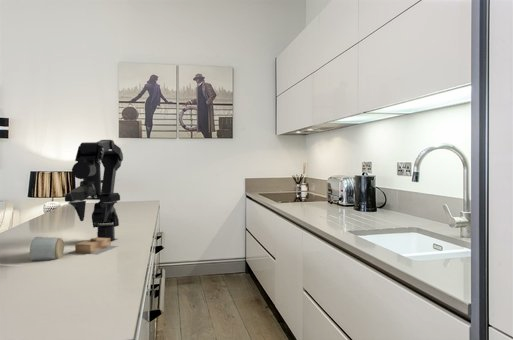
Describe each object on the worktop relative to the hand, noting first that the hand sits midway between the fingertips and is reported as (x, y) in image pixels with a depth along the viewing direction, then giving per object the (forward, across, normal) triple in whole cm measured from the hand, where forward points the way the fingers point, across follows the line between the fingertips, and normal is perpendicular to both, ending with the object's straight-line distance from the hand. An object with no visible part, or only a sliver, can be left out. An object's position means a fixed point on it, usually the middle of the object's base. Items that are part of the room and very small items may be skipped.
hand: (93, 221), depth 126 cm
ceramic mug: (+11, -8, -12) cm, 18 cm away
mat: (+11, 0, 0) cm, 11 cm away
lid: (+10, 0, 0) cm, 10 cm away
